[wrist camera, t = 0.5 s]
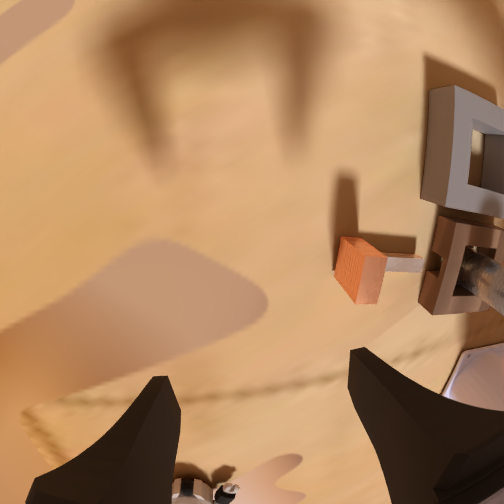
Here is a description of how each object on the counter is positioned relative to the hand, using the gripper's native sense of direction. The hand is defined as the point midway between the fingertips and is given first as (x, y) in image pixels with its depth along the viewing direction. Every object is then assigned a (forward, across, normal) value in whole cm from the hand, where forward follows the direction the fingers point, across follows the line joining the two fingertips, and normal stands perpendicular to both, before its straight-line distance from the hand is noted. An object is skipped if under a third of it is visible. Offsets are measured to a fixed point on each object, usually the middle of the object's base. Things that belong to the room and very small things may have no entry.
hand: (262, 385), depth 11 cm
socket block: (+10, -17, +1) cm, 20 cm away
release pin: (+9, -9, -1) cm, 13 cm away
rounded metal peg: (+10, -17, +1) cm, 20 cm away
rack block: (+10, -17, -8) cm, 21 cm away
